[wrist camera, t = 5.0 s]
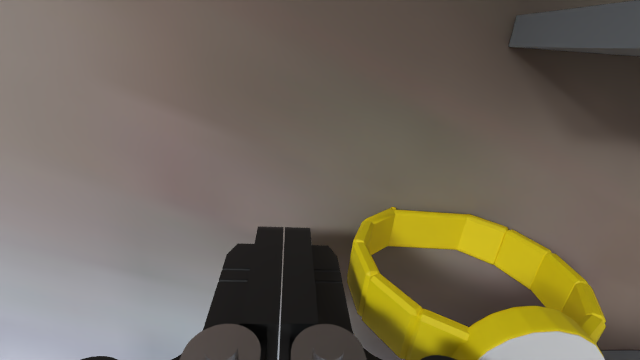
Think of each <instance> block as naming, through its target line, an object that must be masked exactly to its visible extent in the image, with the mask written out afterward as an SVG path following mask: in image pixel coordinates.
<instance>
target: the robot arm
mask: <svg viewBox="0 0 640 360" xmlns="http://www.w3.org/2000/svg"><path fill="white" fill-rule="evenodd" d="M282 250H283V227H258V229H257V234H256V240H255V244H237V245H236V246H235V247H234V248H233V249H232V250H231V251H230V252H229V253H228V254H227V256H226V259H225V262H224V265H223V270H222V272H221V275H220V278H219V282H218V284H217V288H216V291H215V294H214V297H213V300H212V303H211V307H210V310H209V313H208V316H207V319H206V322H205V326H204V329H203V331H202V332H200V333H199V334H197V335H196V336H195V337H194V338H193V339H192V340H190V342H189V343H188V344H187V346H186V347H185V349H184V351H183V353H182V354H181V355H179V356H178V357H176V358H174V359H172V360H277V351H278V332H279V314H280V295H281V274H282ZM81 360H117V359H115V358H112V357H107V356H96V357H89V358H85V359H81ZM279 360H381V359H379V358H377V357H375V356H373V355H372V354H370V353H369V352H368V351H366V350H365V349H364V348H363V347H362V345H361V343H360V342H359V340H358V339H357V338H356V337H355V336H354V334H353V331H352V328H351V323H350V318H349V313H348V308H347V303H346V298H345V293H344V288H343V284H342V278H341V273H340V268H339V264H338V259H337V256H336V255H335V254H334V253H333V251H332V250H331V249H330V248H329V247H328V246H318V245H312V244H311V232H310V228H291V227H285V243H284V265H283V287H282V308H281V330H280V354H279ZM421 360H456V359H454V358H451V357H447V356H442V355H431V356H427V357H424V358H422V359H421Z"/></svg>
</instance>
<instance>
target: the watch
mask: <svg viewBox="0 0 640 360" xmlns="http://www.w3.org/2000/svg"><path fill="white" fill-rule="evenodd" d="M387 246H396V247H415V248H434V249H453V250H458V251H460V252H463V253H465V254H468V255H470V256H473V257H475V258H477V259H480V260H482V261H485V262H487V263H490V264H492V265H494V264H495V266H496V267H497V268H499V269H500V270H502V271H503V272H505V273H506V274H508V275H509V276H511V277H512V278H514V279H515V280H517V281H518V282H520V283H521V284H522V285H524V286H525V287H527V288H528V289H530V290H531V291H532V292H533V293H534V294H535V295H536V297H537V298H538V299H539V300H540V301H541V302H542V304H543V305H544V306H545V307H541V306H520V307H512V308H509V309H505V310H502V311H498V312H495V313H492V314H490V315H488V316H486V317H485V318H483V319H481V320H479V321H477V322H476V323H474V324H472V325H471V326H470V327H468V326H465V325H463V324H460V323H458V322H455V321H453V320H451V319H448V318H446V317H443V316H441V315H439V314H436V313H434V312H431V311H429V310H426V309H423V308H422V307H421V306H419V305H418V304H417V303H416V302H415V301H413V300H412V299H411V298H410V297H408V296H407V295H406V294H405V293H403V292H402V291H401V290H400V289H398V288H397V287H396V286H395V285H393V284H392V283H391V282H390V281H388V280H387V279H386V278H385V277H383V276H382V275H381V274H380V272H379V270H378V268H377V266H376V264H375V262H374V260H373V258H372V256H371V255H373V254H374V253H376V252H378V251H380V250H381V249H383V248H385V247H387ZM347 277H348V278H347V283H348V286H349V289H350V292H351V295H352V298H353V301H354V304H355V307H356V310H357V313H358V314H359V315H360V316H362V321H363V322H364V323H365V324H366V325H367V326H368V327H369V328H370V329H371V330H372V331H373V332H374V333H375V334H376V335H377V336H378V337H379V338H380V339H381V340H382V341H383V342H384V343H385V344H386V345H387V346H388V347H389V348H390V349H391V350H392V351H393V352H394V353H395V354H396V355H397V356H398V357H399V358H401V359H405V360H421V359H422V358H424V357H427V356H431V355H442V356H447V357H451V358H454V359H456V360H605V359H604V356H603V354H602V352H601V351H600V349H599V348H598V346H597V344H596V343H597V341H598V340H599V338H600V336H601V334H602V333H603V331H604V329H605V327H606V326H605V322H606V320H605V317H604V315H603V313H602V310H601V308H600V306H599V303H598V301H597V298H596V296H595V294H594V291H593V289H592V288H591V286H590V285H589V284H588V283H587V281H586V280H585V279H583V278H582V277H581V276H580V275H579V274H578V273H577V272H576V271H574V270H573V269H572V268H571V267H570V266H569V265H568V264H567V263H565V262H564V261H563V260H562V259H561V258H560V257H559V256H558V255H556V254H554V253H551V250H549V249H547V248H545V247H544V246H542V245H540V244H538V243H536V242H534V241H533V240H531V239H529V238H527V237H525V236H524V235H522V234H520V233H518V232H516V231H514V230H513V229H512V230H509V229H508V228H507V227H505V226H503V225H500V224H497V223H494V222H491V221H488V220H485V219H482V218H480V217H477V216H474V215H471V214H455V213H440V212H425V211H410V210H396V207H391V209H390V208H389V209H387V210H385V211H382V212H380V213H378V214H376V215H373V216H371V217H369V218H367V219H365V220H364V221H363V222H362V223H361V225H360V227H359V230H358V232H357V234H356V236H355V238H354V240H353V245H352V251H351V257H350V262H349V268H348V274H347Z"/></svg>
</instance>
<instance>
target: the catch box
mask: <svg viewBox="0 0 640 360" xmlns="http://www.w3.org/2000/svg"><path fill="white" fill-rule="evenodd" d="M509 47H518V48H532V49H545V50H559V51H572V52H586V53H599V54H613V55H626V56H640V0H634V1H627V2H619V3H611V4H603V5H596V6H588V7H580V8H572V9H564V10H557V11H549V12H541V13H533V14H526V15H518V16H516V20H515V24H514V28H513V32H512V35H511V39H510V43H509ZM601 352H602V354H603V356H604V359H605V360H640V350H621V351H601Z"/></svg>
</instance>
